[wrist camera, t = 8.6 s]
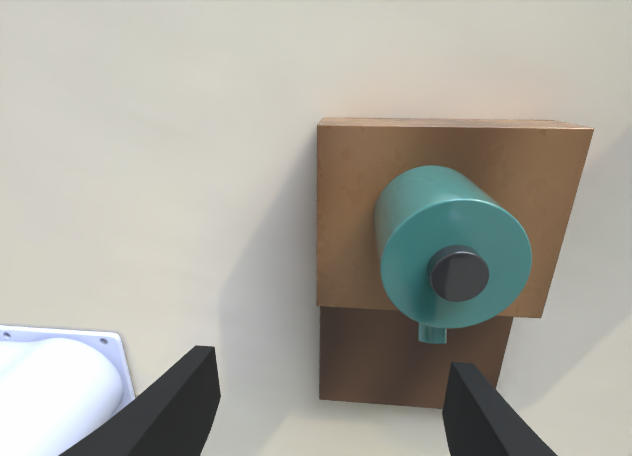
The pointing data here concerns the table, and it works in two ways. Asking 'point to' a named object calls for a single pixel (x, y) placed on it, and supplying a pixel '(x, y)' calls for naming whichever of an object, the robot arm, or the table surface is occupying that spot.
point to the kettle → (447, 251)
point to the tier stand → (362, 259)
